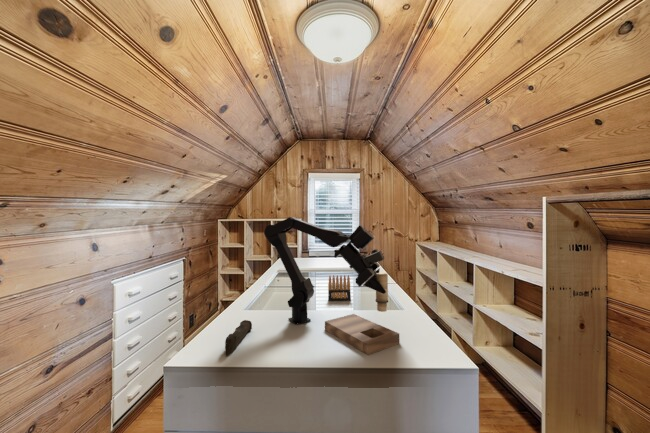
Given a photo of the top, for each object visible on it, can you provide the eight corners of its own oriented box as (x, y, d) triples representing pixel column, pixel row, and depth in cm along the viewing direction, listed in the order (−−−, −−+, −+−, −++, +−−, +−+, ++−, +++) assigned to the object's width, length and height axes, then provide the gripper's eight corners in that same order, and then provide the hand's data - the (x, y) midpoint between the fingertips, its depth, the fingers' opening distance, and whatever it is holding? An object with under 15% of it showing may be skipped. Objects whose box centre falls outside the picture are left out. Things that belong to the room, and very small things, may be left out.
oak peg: (373, 309, 97) (372, 273, 97) (382, 307, 99) (382, 272, 99) (380, 312, 93) (380, 275, 93) (390, 310, 95) (390, 274, 95)
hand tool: (241, 330, 97) (240, 317, 97) (252, 331, 97) (252, 317, 97) (216, 357, 78) (216, 341, 78) (230, 358, 78) (230, 341, 78)
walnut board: (324, 329, 97) (324, 321, 97) (353, 321, 104) (353, 313, 104) (368, 355, 78) (367, 344, 78) (399, 343, 86) (399, 333, 86)
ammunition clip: (328, 301, 131) (327, 275, 132) (328, 299, 133) (328, 274, 133) (350, 300, 131) (350, 275, 131) (350, 299, 133) (350, 274, 133)
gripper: (365, 244, 89) (401, 281, 85) (373, 240, 106) (404, 270, 103) (341, 268, 91) (375, 305, 87) (353, 260, 109) (382, 290, 105)
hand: (385, 291), depth 96 cm, fingers closed on oak peg, 4 cm apart
